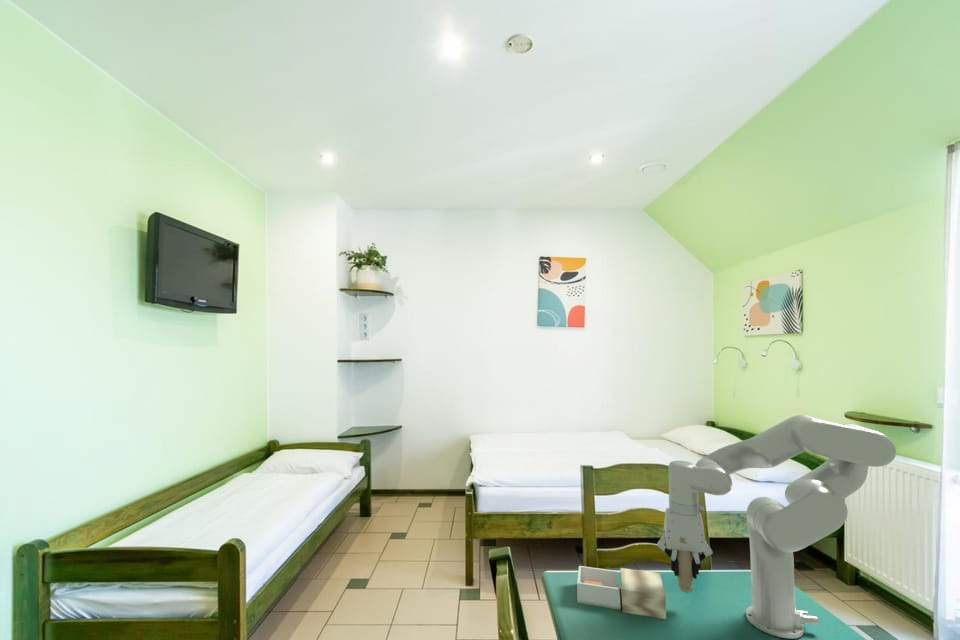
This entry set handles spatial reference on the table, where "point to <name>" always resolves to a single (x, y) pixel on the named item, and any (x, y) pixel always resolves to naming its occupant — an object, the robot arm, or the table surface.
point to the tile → (593, 582)
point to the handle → (684, 569)
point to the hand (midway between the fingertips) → (684, 574)
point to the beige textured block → (642, 593)
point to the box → (598, 587)
